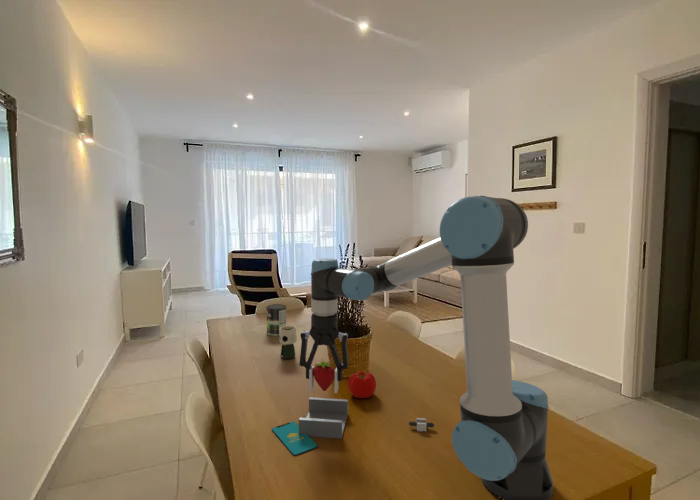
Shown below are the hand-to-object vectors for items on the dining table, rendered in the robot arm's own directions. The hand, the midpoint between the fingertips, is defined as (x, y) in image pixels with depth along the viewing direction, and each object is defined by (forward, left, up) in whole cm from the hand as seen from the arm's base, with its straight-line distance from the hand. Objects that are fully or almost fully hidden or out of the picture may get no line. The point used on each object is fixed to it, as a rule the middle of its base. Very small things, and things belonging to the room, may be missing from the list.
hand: (323, 390), depth 112 cm
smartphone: (-8, +7, -11) cm, 15 cm away
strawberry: (0, 0, 0) cm, 0 cm away
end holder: (0, 0, -10) cm, 10 cm away
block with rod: (+1, -28, -10) cm, 30 cm away
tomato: (+20, -9, -11) cm, 24 cm away
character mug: (+51, +26, -10) cm, 58 cm away
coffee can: (+85, +42, -10) cm, 95 cm away
